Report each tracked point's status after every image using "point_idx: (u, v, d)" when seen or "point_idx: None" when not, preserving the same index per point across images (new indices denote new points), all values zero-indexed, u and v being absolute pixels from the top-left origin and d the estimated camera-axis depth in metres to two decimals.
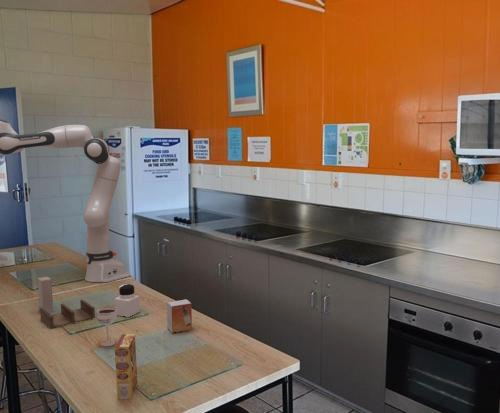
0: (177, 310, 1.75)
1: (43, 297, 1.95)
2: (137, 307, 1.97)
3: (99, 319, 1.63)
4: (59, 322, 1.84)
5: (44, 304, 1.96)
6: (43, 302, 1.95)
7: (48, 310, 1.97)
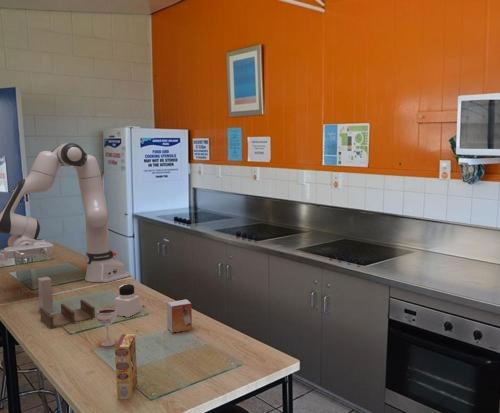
0: (177, 310, 1.75)
1: (43, 297, 1.95)
2: (137, 307, 1.97)
3: (99, 319, 1.63)
4: (59, 322, 1.84)
5: (44, 304, 1.96)
6: (43, 302, 1.95)
7: (48, 310, 1.97)
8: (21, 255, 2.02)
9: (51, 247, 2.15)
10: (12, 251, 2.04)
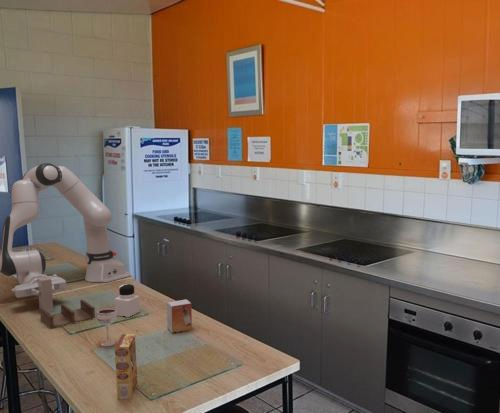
0: (177, 310, 1.75)
1: (43, 297, 1.95)
2: (137, 307, 1.97)
3: (99, 319, 1.63)
4: (59, 322, 1.84)
5: (44, 304, 1.96)
6: (43, 302, 1.95)
7: (48, 310, 1.97)
8: (38, 293, 1.95)
9: (63, 283, 2.06)
10: (23, 290, 1.96)
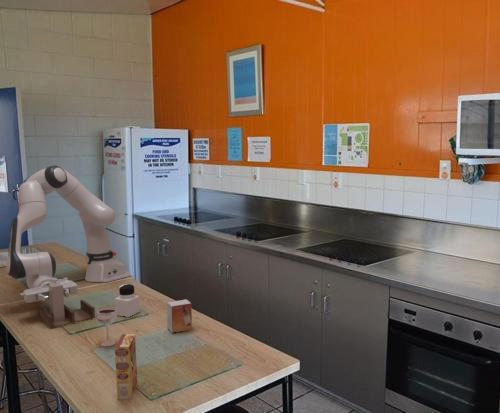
0: (177, 310, 1.75)
1: (54, 304, 1.84)
2: (137, 307, 1.97)
3: (99, 319, 1.63)
4: (59, 322, 1.84)
5: (55, 312, 1.85)
6: (54, 310, 1.84)
7: (59, 318, 1.86)
8: (45, 298, 1.83)
9: (75, 287, 1.95)
10: (33, 294, 1.85)
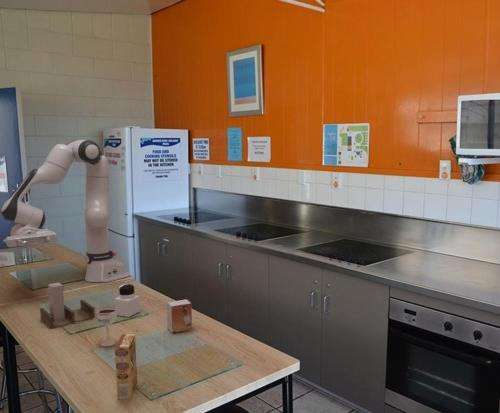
0: (177, 310, 1.75)
1: (54, 304, 1.84)
2: (137, 307, 1.97)
3: (99, 319, 1.63)
4: (59, 322, 1.84)
5: (55, 312, 1.85)
6: (54, 310, 1.84)
7: (59, 318, 1.86)
8: (23, 243, 1.98)
9: (54, 235, 2.10)
10: (14, 239, 2.00)
